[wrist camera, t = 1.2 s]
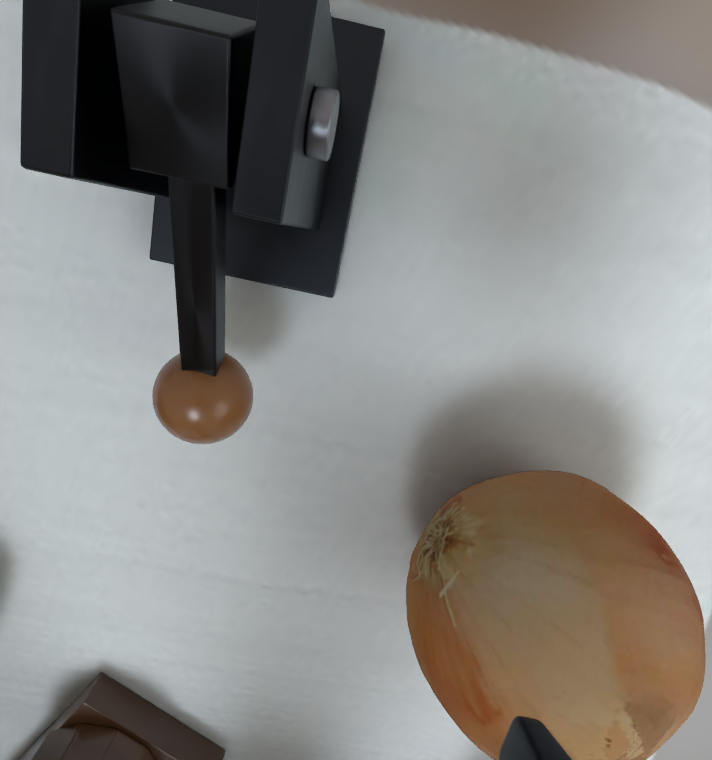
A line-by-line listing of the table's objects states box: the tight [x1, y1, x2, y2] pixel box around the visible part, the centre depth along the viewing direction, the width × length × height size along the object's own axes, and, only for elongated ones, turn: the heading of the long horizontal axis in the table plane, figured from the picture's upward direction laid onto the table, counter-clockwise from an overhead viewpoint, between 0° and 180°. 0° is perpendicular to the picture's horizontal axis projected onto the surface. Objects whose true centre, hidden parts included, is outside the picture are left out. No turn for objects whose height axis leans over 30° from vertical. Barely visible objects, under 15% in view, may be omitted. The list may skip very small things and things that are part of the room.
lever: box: [110, 0, 256, 444], centre depth 13 cm, size 12×3×3 cm, turn 168°
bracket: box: [21, 0, 385, 298], centre depth 13 cm, size 9×7×10 cm
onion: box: [406, 471, 705, 760], centre depth 18 cm, size 10×10×10 cm
